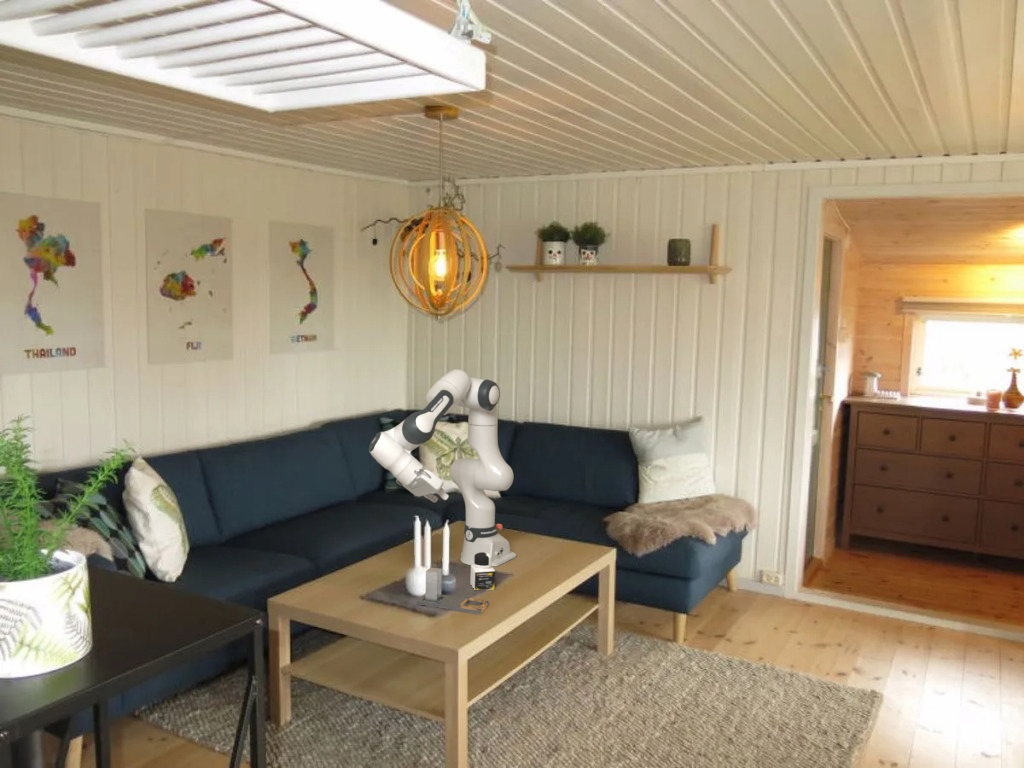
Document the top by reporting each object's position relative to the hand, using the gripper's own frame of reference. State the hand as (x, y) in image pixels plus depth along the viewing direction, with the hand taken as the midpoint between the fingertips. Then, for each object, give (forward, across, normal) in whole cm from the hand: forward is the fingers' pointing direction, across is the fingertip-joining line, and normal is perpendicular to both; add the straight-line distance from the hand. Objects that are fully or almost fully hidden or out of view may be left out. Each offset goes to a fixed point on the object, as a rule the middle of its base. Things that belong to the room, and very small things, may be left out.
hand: (441, 499), depth 286 cm
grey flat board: (+26, +6, +22) cm, 35 cm away
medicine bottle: (+35, +17, +9) cm, 39 cm away
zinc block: (+21, +10, +25) cm, 34 cm away
